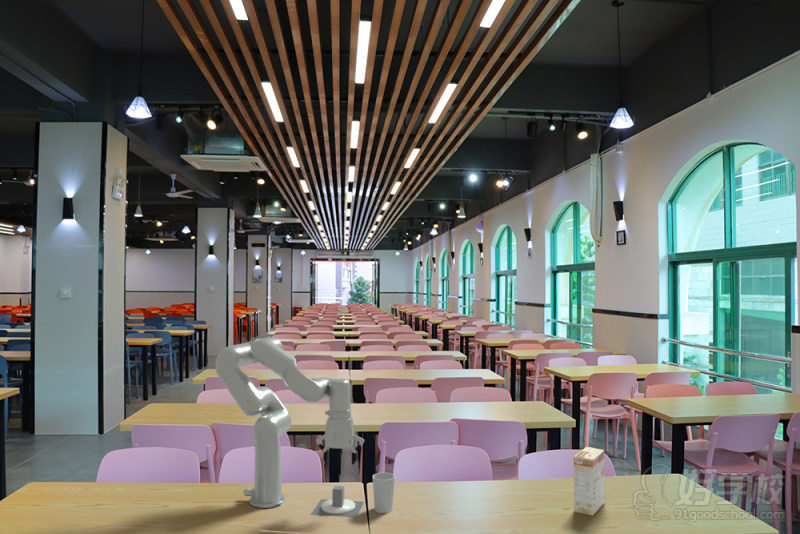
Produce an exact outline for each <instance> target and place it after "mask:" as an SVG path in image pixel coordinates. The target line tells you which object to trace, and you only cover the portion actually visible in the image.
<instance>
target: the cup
mask: <svg viewBox="0 0 800 534" xmlns="http://www.w3.org/2000/svg"><path fill="white" fill-rule="evenodd" d="M395 481H396V475H395V474H393V473H391V472H377V473H373V475H372V488H373V502H374V503H373V505H374V509H373V510H374V511H375V512H376V513H380V514H387V513H390V512H392V511H393V503H394V502H393V501H394V492H395V483H396V482H395Z"/></svg>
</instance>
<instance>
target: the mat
mask: <svg viewBox="0 0 800 534" xmlns="http://www.w3.org/2000/svg"><path fill="white" fill-rule="evenodd" d="M328 500H329V499H322V498H321V499H320V500H319V502H318V503H317V504H316V506H315V508H314V509H313V511H311V513H310V515H311V516H312V515H313V516H328V517H329V516H330V517H348V518H357V517H358V515H359V513H360V511H361V509H362V508H363V505H364V503H365V502H364V501H355V500H352V501H353V502H354V503H355V509H354V510H353V511H352V512H350V513H346V514H340V515H334V514H328V513H325V512H323V511H322V510H321V505H322V503H323V502H325V501H328Z"/></svg>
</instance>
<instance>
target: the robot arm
mask: <svg viewBox="0 0 800 534" xmlns="http://www.w3.org/2000/svg"><path fill="white" fill-rule="evenodd" d="M258 363H259V364H261V365H263V366H264V367H266V368H267V370H268V369H269V370H270V371H271V372H273V373H274V374H276V375H277V376H279V377H280V378H281V379H282V381H283V383H284V384H285V386H286V387H287V389H289V390H290V391H291V393H294V394H295V395H296V396H298V397H300V398H301V399H302V400H303V401H306V402H309V403H311V404H312V403H318V402H320V401H322V400H323V399H327V398H328V407H329V408H328V410H326V411H324V413H325V416H328V418H326V424H325V430H324V434H323V435H321V436H319V437H317V438H316V439H315V442H316V444H317V445H318V449H320V450H321V452H322V453H323V461H324V465H327V464H329V462H330V452H329V449H350V450H351V451H352V453H351V465H353V466H354V465H355V464H356V462H357V461H358V453H357V452H358V451H359V450H360V449H361V448H362V447H363V445H364V442H365V438H362V437H360V436H359V435H357V434H356V433H355V426H354V421H353V417H351V382H350V380H349V379H345V378H329V377H323V376H322V377H321V376H320V377H318V378H315V379H312V378H310V377H308V376H306V375H305V374H304V373H303V372H302V371H300V369H299V368H298V366H297V359H296V357H294V356H293V355H292V354H290V353H288V352H287V351H286V350H284V345H283V343H282V342H281V340H280V339H278V338H276V337H271V336H270V337H265V338H261V339H258V340H254V341H250V342H243V343H238V344H233V345H229V346H226V347H224V348H223V349H222V350H220V351H219V353H218V354H217V356H216V359H215V371H216V375H217V376H218V378H219V380H220V381H221V383H222V384H223V385H224V386H225V388H226V389H227V391H228V392H229V394H230V395H231V396H232V398H233V399H234V400H235V402H236V404H237V406H238V407H239V408H240V410H241V411H242V413H243V414H244V415H246V416H247V417H256V416H259V415H261V416H260V417H258V418H257V420H256V421H255V422H254V425H253V428H252V434H253V435H252V436H253V443H254V486H253V487H252V488H244V490H243V494H244V497H248V496H249V497H250V499H249V505H250V506H253V507H254V508H260V509H268V508H269V509H270V508H274V507H278V506H281V505H282V504H284V503H285V502H286V496H285V495H284V494H282V444H281V441H280V437H281V436H283V435H284V434H286V433H288V431H289V430H290V429H291V427H292V417H291V414H290V413H289V411H288V410H287V408H286V407H285V405H284V404H283V403H282V401H281V399H279V397H278V396H277V394H276V393H275V392H274V391H273V390H272V389H271V388H269V387H267V386H257V387H256V386H255V384H254V383H253V382H252V380H251V379H250V377H249V376H248V375H247V374H246V373H245V372H243V370H241V367H245V366H248V365H253V364H258ZM323 440H324V444H323V443H322V441H323ZM356 441H357V442H358V445H357V446H356V445H355V443H356Z"/></svg>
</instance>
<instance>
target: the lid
mask: <svg viewBox="0 0 800 534" xmlns="http://www.w3.org/2000/svg"><path fill="white" fill-rule="evenodd" d="M327 500H328V501H325V502H323V503H322V505H321V510H322V511H323V512H325V513H328V514H334V515H340V514H346V513H350V512H352V511H353V510H354V509H355V503H354V502H353V501H354V500H351V499H347V498H345V485H344V486H343V485H342V486H341V485H334V487H333V488H332V498H331V499H327Z"/></svg>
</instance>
